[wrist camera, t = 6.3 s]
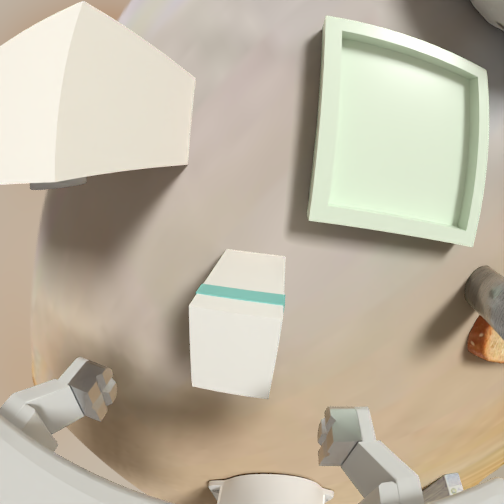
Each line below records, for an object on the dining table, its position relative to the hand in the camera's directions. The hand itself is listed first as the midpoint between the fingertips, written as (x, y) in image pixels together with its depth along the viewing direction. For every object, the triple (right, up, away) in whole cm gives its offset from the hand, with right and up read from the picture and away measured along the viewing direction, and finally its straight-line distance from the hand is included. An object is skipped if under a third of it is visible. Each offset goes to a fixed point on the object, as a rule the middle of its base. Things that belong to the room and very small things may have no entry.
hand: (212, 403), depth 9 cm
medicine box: (+36, -37, +20) cm, 55 cm away
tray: (+11, +13, +6) cm, 19 cm away
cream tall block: (-6, +14, +8) cm, 18 cm away
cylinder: (+20, +3, +9) cm, 22 cm away
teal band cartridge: (+2, +3, +11) cm, 11 cm away
